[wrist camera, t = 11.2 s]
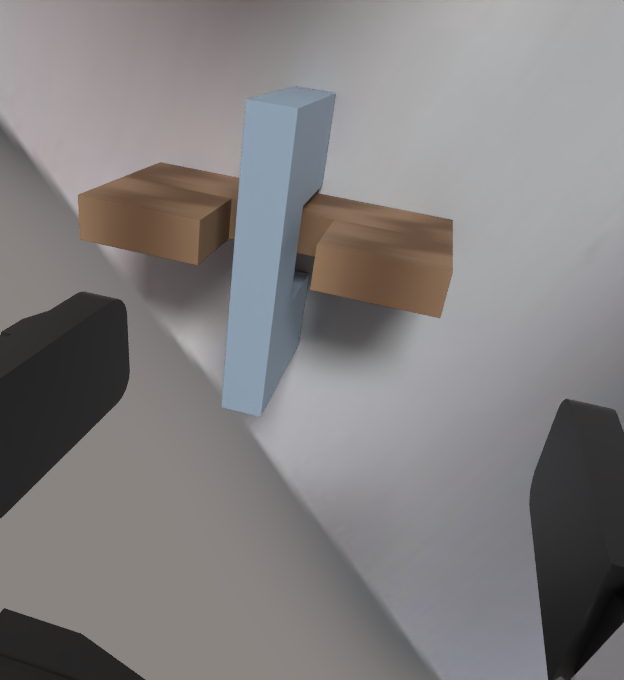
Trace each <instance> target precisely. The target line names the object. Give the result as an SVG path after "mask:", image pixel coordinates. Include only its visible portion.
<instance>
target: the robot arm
mask: <svg viewBox="0 0 624 680" xmlns="http://www.w3.org/2000/svg"><path fill="white" fill-rule="evenodd" d="M129 373H130V369H129V348H128V326H127V311H126V307H125V304H124V303H123V302H122V301H121V300H119V299H115V298H111V297H106V296H101V295H97V294H93V293H88V292H79V293H77V294H75V295H74V296H72V297H71V298H69V299H67V300H66V301H64V302H62V303H61V304H59V305H58V306H56V307H54V308H53V309H51V310H49V311H47V312H43V313H40V314H37V315H34V316H31V317H28V318H24V319H22V320H20V321H19V322H17V323H16V324H14V325H12V326H10V327H9V328H7V329H5V330H4V331H2V332H1V335H0V518H2V517H3V516H4V515H5V514H6V513H7V512H8V511H9V510H10V509H11V508H12V507H13V506H14V505H15V504H16V503H17V502H18V501H19V500H20V499H21V498H22V497H23V496H24V495H25V494H26V493H27V492H28V491H29V490H30V489H31V488H32V487H33V486H34V485H35V484H36V483H37V482H38V481H39V480H40V479H41V478H42V477H43V476H44V475H45V474H46V473H47V472H48V471H49V470H50V469H51V468H52V467H53V466H54V465H55V464H56V463H57V462H58V461H59V460H60V459H61V458H62V457H63V456H64V455H65V454H66V453H67V452H68V451H69V450H71V449H72V448H73V447H74V446H75V445H76V444H77V443H78V442H79V441H80V440H81V439H82V437H84V436H85V435H86V434H87V433H88V432H89V431H90V430H91V429H92V428H93V427H94V426H95V425H96V423H98V422H99V421H100V420H101V419H102V418H103V417H104V416H105V415H106V414H107V413H108V412H109V411H110V410H111V409H112V408H113V407H114V406H115V405H116V404H117V403H118V402H119V401H120V399H121V398H122V396H123V394H124V392H125V390H126V387H127V384H128V380H129ZM530 516H531V525H532V534H533V543H534V553H535V562H536V571H537V580H538V590H539V599H540V608H541V617H542V627H543V636H544V645H545V655H546V664H547V673H548V680H624V432H623V429H622V426H621V424H620V421H619V418H618V416H617V413H616V411H615V410H613V409H610V408H606V407H601V406H597V405H592V404H588V403H583V402H578V401H574V400H569V399H565V400H564V401H563V402H562V403H561V405H560V407H559V409H558V411H557V414H556V416H555V419H554V422H553V424H552V427H551V429H550V432H549V435H548V437H547V440H546V443H545V445H544V448H543V451H542V453H541V456H540V459H539V461H538V464H537V467H536V469H535V472H534V476H533V480H532V484H531V490H530ZM0 680H145V679H143V678H142V677H141V676H139V675H138V674H137V673H135V672H134V671H132V670H131V669H130V668H128V667H127V666H125V665H124V664H123V663H121V662H120V661H118V660H117V659H116V658H114V657H113V656H112V655H110V654H109V653H107V652H106V651H105V650H103V649H102V648H101V647H99V646H98V645H96V644H95V643H94V642H92V641H91V640H89V639H88V638H86V637H85V636H84V635H82V634H81V633H77V632H74V631H71V630H68V629H65V628H62V627H59V626H56V625H53V624H50V623H47V622H44V621H41V620H38V619H35V618H32V617H29V616H26V615H23V614H20V613H17V612H14V611H11V610H8V609H5V608H4V609H3V610H2V611H1V613H0Z"/></svg>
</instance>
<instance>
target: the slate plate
mask: <svg viewBox="0 0 624 680" xmlns="http://www.w3.org/2000/svg"><path fill="white" fill-rule="evenodd" d="M335 96H336V93H331V92H325V91H320V90H314V89H308V88H302V87H297V86H296V87H292V88H288V89H284V90H280V91H276V92H272V93H268V94H264V95H260V96H256V97H253V98H249V99H246V105H245V118H244V130H243V142H242V155H241V167H240V180H239V192H238V204H237V217H236V229H235V242H234V254H233V266H232V279H231V291H230V304H229V316H228V328H227V341H226V353H225V366H224V378H223V390H222V403H221V407H222V408H227V409H230V410H234V411H238V412H242V413H246V414H250V415H254V416H258V417H261V415H262V414H263V412H264V410H265V408H266V406H267V404H268V402H269V400H270V398H271V396H272V394H273V392H274V390H275V388H276V387H277V385H278V383H279V381H280V379H281V377H282V375H283V373H284V371H285V369H286V367H287V365H288V363H289V361H290V359H291V358H292V356H293V354H294V352H295V350H296V348H297V346H298V344H299V340H300V333H301V326H302V319H303V313H304V306H305V299H306V292H307V286H308V279H309V274H308V273H303V272H299V271H294V270H295V262H296V255H297V247H298V240H299V233H300V225H301V218H302V210H303V205H304V204H305V203H306V202H307V201H308V200H309V199H310V198H311V197H312V196H313V195H314V194H315V193H316V192H317V191H318V189H319V188H320V187H321V186H322V184H323V177H324V171H325V164H326V157H327V150H328V144H329V137H330V130H331V123H332V117H333V110H334V103H335Z"/></svg>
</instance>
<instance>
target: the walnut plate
mask: <svg viewBox="0 0 624 680" xmlns="http://www.w3.org/2000/svg"><path fill="white" fill-rule="evenodd" d="M239 180H240V178H236V177H231V176H226V175H221V174H216V173H211V172H206V171H201V170H196V169H191V168H186V167H181V166H175V165H170V164H165V163H158V164H155V165H153V166H150V167H147V168H145V169H142V170H140V171H137V172H135V173H132V174H130V175H127V176H125V177H122V178H120V179H117V180H115V181H112V182H109V183H107V184H104V185H102V186H99V187H97V188H94V189H92V190H89V191H87V192H84V193H82V194H79V195H78V206H79V225H80V240H84V241H89V242H94V243H98V244H102V245H107V246H112V247H116V248H121V249H125V250H130V251H134V252H139V253H144V254H148V255H153V256H157V257H162V258H167V259H171V260H176V261H180V262H185V263H190V264H194V265H198V264H200V263H201V262H202V261H203V260H204V259H206V258H207V257H208V256H209V255H210V254H211V253H213V252H214V251H215V250H216V249H217V248H218V247H220V246H221V245H222V244H223V243H224V242H225V241H227V240H228V239H233V240H235V229H236V217H237V204H238V192H239ZM297 253H299V254H304V255H309V256H314V257H315V260H314V266H313V273H312V280H311V286H310V290H313V291H318V292H323V293H327V294H332V295H336V296H341V297H345V298H350V299H355V300H359V301H364V302H368V303H373V304H378V305H382V306H387V307H391V308H396V309H401V310H405V311H410V312H414V313H419V314H423V315H428V316H433V317H437V318H440V317H441V313H442V310H443V306H444V302H445V299H446V295H447V291H448V288H449V284H450V280H451V277H452V273H453V220H450V219H445V218H440V217H434V216H429V215H424V214H419V213H414V212H409V211H404V210H399V209H394V208H389V207H384V206H379V205H374V204H368V203H363V202H358V201H353V200H348V199H343V198H338V197H333V196H328V195H323V194H318V193H315V194H314V195H313V196H312V197H311V198H310V199H309V200H308V201H307V202H306V203H305V204H304V205H303V210H302V218H301V225H300V233H299V240H298V247H297Z"/></svg>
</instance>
